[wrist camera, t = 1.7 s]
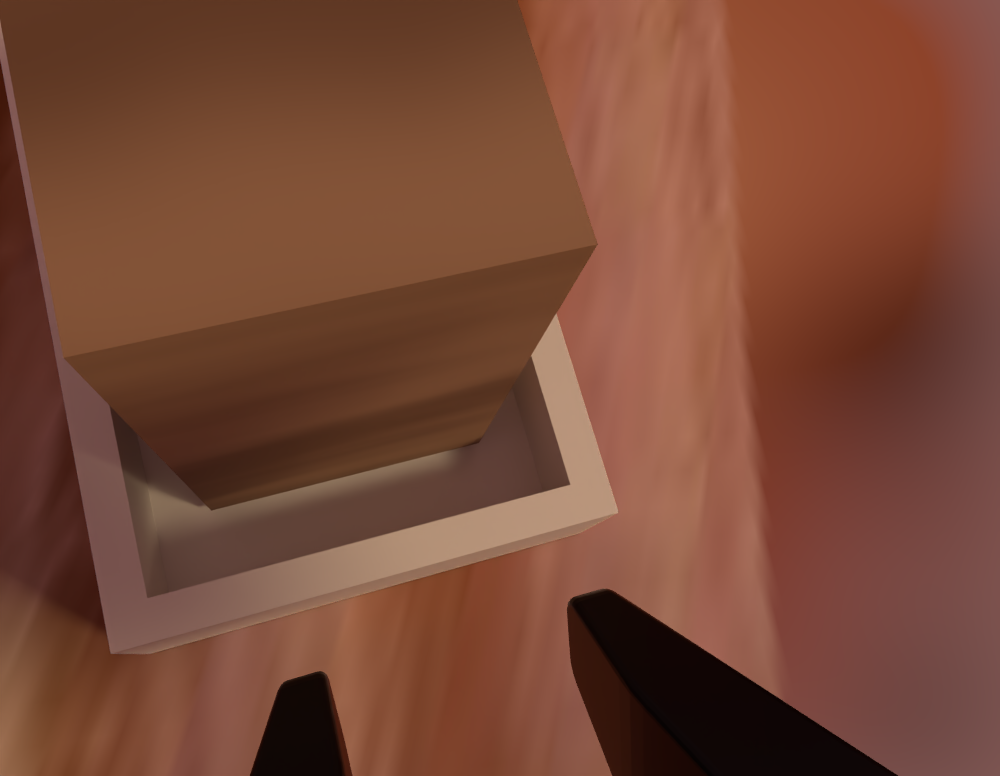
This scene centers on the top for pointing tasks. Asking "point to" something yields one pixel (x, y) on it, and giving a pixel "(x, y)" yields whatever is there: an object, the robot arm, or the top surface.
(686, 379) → the top surface
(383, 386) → the walnut block
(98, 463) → the box
